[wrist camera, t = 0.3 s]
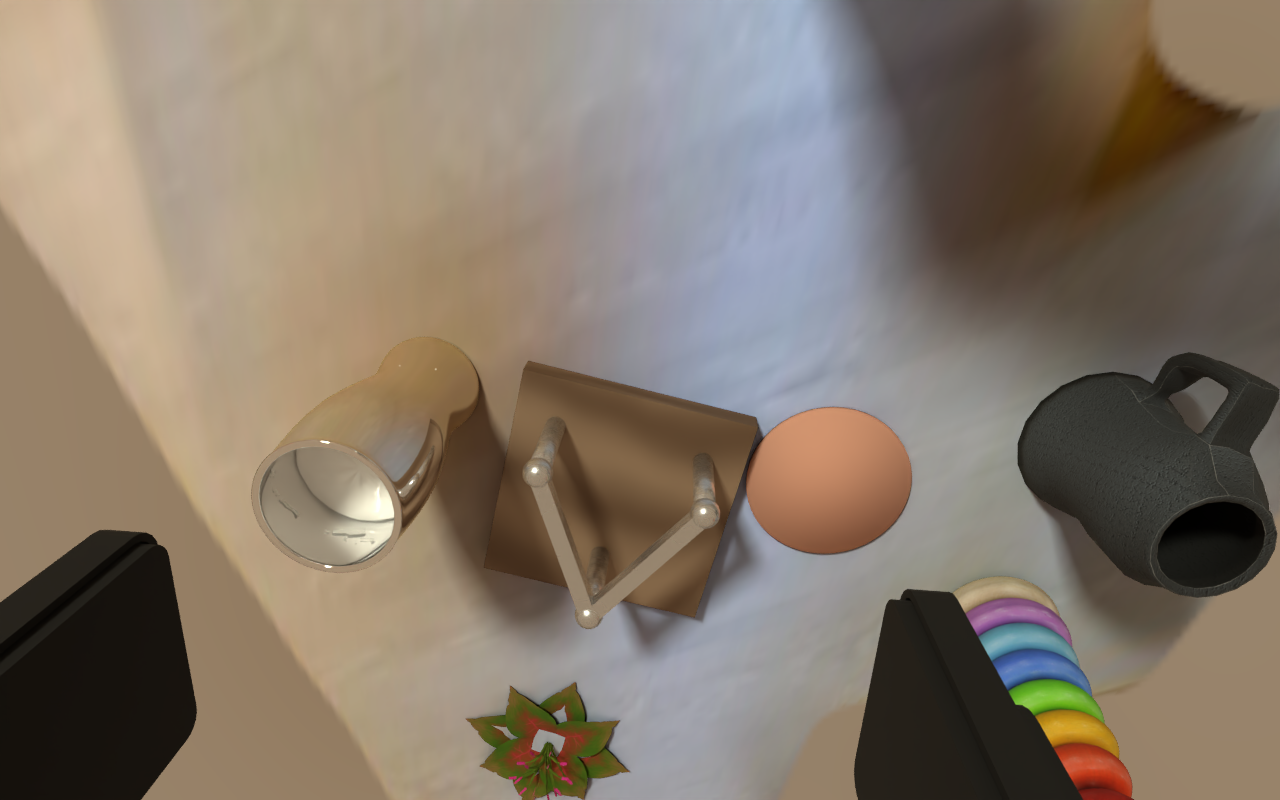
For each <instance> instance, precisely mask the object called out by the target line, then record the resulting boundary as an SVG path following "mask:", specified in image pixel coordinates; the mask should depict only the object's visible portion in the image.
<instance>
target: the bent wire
mask: <svg viewBox="0 0 1280 800" xmlns="http://www.w3.org/2000/svg"><path fill="white" fill-rule="evenodd" d="M565 428H566V425H565V422H564V421H563V420H562V419H561V418H559V417H550V418H549V419H548V420H547V421H546V423H545V426H544V428H543V431H542V433H541V436H540V438H539V441H538V443H537V446H536V448H535V450H534V453H533V455H532V458H531V459H530V460H529V461H528V462H527V463H526V464H525V465H524V467H523V472H522V475H523V479H524V481H525V482H526V483H527V484H528V485H529V486H531V488H532V490H533V493H534V496H535V499H536V501H537V504H538V507H539V509H540V512H541V515H542V518H543V520H544V523H545V526H546V528H547V531H548V534H549V536H550V539H551V542H552V545H553V547H554V550H555V553H556V555H557V558H558V561H559V564H560V566H561V569H562V572H563V574H564V577H565V580H566V582H567V585H568V588H569V591H570V593H571V596H572V599H573V601H574V604H575V607H576V610H575V619H576V621H577V623H578V624H579V625H580V626H581V627H583V628H585V629H593V628H595V627H597V626H598V625H599V624H600V623H601V622H602V619H603V616H604V615H605V614H606V613H608V612H609V611H610V610H611V609H612V608H613V607H615V606H616V605H617V604H618V603H619V602H620V601H622V600H623V599H624V598H625V597H626V596H627V595H628V594H630V593H631V592H632V591H633V590H634V589H635V588H637V587H638V586H639V585H640V584H641V583H642V582H644V581H645V580H646V579H647V578H648V577H649V576H651V575H652V574H653V573H654V572H655V571H656V570H657V569H659V568H660V567H661V566H662V565H663V564H664V563H666V562H667V561H668V560H669V559H670V558H671V557H673V556H674V555H675V554H676V553H677V552H678V551H680V550H681V549H682V548H683V547H684V546H685V545H686V544H688V543H689V542H690V541H691V540H692V539H693V538H695V537H696V536H697V535H698V534H699V533H700V532H702V531H703V530H704V529H707V528H711V527H713V526H714V525H716V524H717V522H718V521H719V518H720V509H719V506H718V505H717V503H716V499H715V485H714V471H713V460H712V457H711V456H710V455H709V454H707V453H699V454H697V455H696V456H695V457H694V458H693V504H692V506H691V508H690V512H689V513H688V514H687V515H685V516H684V517H683V518H682V519H681V520H680V521H679V522H677V523H676V524H675V525H674V526H673V527H672V528H671V529H670V530H668V531H667V532H666V533H665V534H664V535H663V536H662V537H660V538H659V539H658V540H657V541H656V542H655V543H654V544H652V545H651V546H650V547H649V548H648V549H647V550H646V551H644V552H643V553H642V554H641V555H640V556H639V557H638V558H637V559H635V560H634V561H633V562H632V563H631V564H630V565H629V566H627V567H626V568H625V569H624V570H623V571H622V572H621V573H619V574H618V575H617V576H616V577H615V578H614V579H613V580H612V581H610V582H609V583H608V584H607V585H606V586H605V580H606V574H607V567H608V561H609V552H608V550H607V549H606V548H604V547H600V546H599V547H595V548H593V549H592V551H591V553H590V558H589V563H588V568H587V573H585V571H584V568H583V565H582V562H581V560H580V557H579V554H578V551H577V548H576V546H575V543H574V540H573V537H572V534H571V532H570V529H569V526H568V523H567V520H566V518H565V515H564V512H563V509H562V506H561V504H560V501H559V498H558V495H557V492H556V490H555V487H554V484H553V481H552V478H553V468H552V466H553V463H554V460H555V457H556V454H557V451H558V448H559V446H560V443H561V440H562V437H563V434H564V431H565ZM604 586H605V587H604Z"/></svg>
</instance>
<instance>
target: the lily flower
mask: <svg viewBox="0 0 1280 800" xmlns="http://www.w3.org/2000/svg"><path fill="white" fill-rule="evenodd" d="M575 689H576V684H575V683H573V684H572V685H571V686H569V687H567V688H565V689H564V690H562V692H558V693H556V694H555V695H553V696H551V697H550V698H548V699H547V700H545V701H544V702H542V703H541V704H540V706H539V707H537V706H536V705H535V704H533V703H532V702H531V701H529V700H528V699H527V698H525V697H524V696H522V695H520V694H518V693H517V692H516V690H514V689H513V688H512V687H511V686H510V695H509V699H508V702H509V705H508V706H507V709H506V715H500V716H490V717H481V718H478V719H466V720H467V721H469V722H471V725H472V726H473V727H474V729H475V730H478V731H479V732H478V734H479V735H480V736H481V738H482V739H483V740H484V741H485V742H487V743H489V744H490V745H491V746H493V747H495V748H497V749H495V750H494V752H493V753H492V754H491V755H490V756H489V757H488V758H487V759H486V761H485V764H484V763H483V764H482V765H481V766H480V767H483V768H486V769H488V770H490V771H492V772H497V774H498V775H499V776H501V777H503V778H506V779H513V783H514V786H515V788H516V790H517V792H518V794H519V795H521V797H523V798H522V800H533V799H535V797H537V798H539V797H542V796H544V795H546V794H547V796H548V797H547V798H548V800H549V795H548V793H549V792H550V791H551V790H552V791H553V792H555V796H556V797H557V794H558V795H560V796H562V795H565V796H571V797H573V796H578V798H581V799H583V800H584V795H585V791H584V790H586V788H587V777H588V778H604V777H608V776H612V775H616V774H617V773H618V772H622V773H623V772H629V771H628V770H626V769H625V768H624V767H623V766H622V765H621V764H620V763H618V762H617V759H616V758H615V757H614V756H613V755H612V754H611V753H610V752H609V751H607V750H606V749H605V748H604V746H605V744H606V743H607V741H608V739H609V737H610V735H611V733H612V727H615V726H616V724H617V723H618V722H619V721H620V720H619V721H613V722H612V721H608V722H601V723H600V722H584V721H585V713H584V709H583V706H582V703H581V700H580V697H579V694H578V693H577V692H576V691H575ZM564 705H565V713H566V716H567V722H562V723H560V724H558V725H556V722H555V720H554V719H553V718H552V717H551V716H550V715H551V714H553V713H554V712H556V711H558V710H561V709H562V708H563V706H564ZM491 725H493V726H500V727H506V726H507V728H508V730H509V731H510V732H511V733H512V734H513V735H514V736H516V737H518V738H517V739H513V740H510V739H509V738H508V737H506V736H505V735H504V733H503V732H502V731H501V730H499V729H497V728H495V727H493V726H491ZM539 729H541V730H545V731H548V732H552V733H556V734H558V735H561V736H563V737H565V742H564V745H563V748H562V751H561V752H560V754H559V755H558V757H556V755H555V753H554V750H553V745H552V744H551V743H548V742H547V743H546V744H545V745H544V748H543V749H542V751H541V752H537V751H534V750H532V749H531V747H532V743H533V739H534V737H535V735H536V733H537V731H538V730H539ZM551 750H552V753H553V755H554V756H552V754H551ZM577 756H579V757H586V758H578V757H577ZM589 756H590V757H589ZM538 770H539V774H537V775H536V773H537V772H538ZM534 772H535V773H534ZM535 775H536V776H535Z"/></svg>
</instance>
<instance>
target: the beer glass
mask: <svg viewBox="0 0 1280 800" xmlns="http://www.w3.org/2000/svg"><path fill="white" fill-rule="evenodd" d="M478 398H479V380H478V376H477V373H476V371H475V368H474V367H473V365H472V363H471V362H470V360H469V359H468V358H467V356H466V355H465V354H464V353H463V352H462V351H460V350H459V349H458V348H457V347H455V346H454V345H452V344H450V343H448V342H446V341H443V340H441V339H437V338H432V337H416V338H411V339H408V340H405V341H403V342H401V343H399V344H398V345H396V346H395V347H393V348H392V349H391V350H390V351H389V352H388V354H387V355H386V356H385V358H384V359H383V361H382V363H381V365H380V367H379V369H378V371H377V373H376V374H375V375H373V376H371V377H368V378H366V379H364V380H361V381H359V382H357V383H355V384H352V385H350V386H348V387H346V388H344V389H342V390H340V391H339V392H337V393H335V394H333V395H332V396H330V397H328V398H327V399H325V400H324V401H322V402H321V403H320V404H319V405H317V406H316V407H315V408H314V409H312V410H311V411H310V412H309V413H307V414H306V415H305V416H304V417H303V418H302V419H301V420H300V421H299V422H298V423H297V424H296V425H295V426H294V427H293V428H292V429H291V431H290V432H289V433H288V434H287V435H286V436H285V437H284V439H283V440H282V441H281V442H280V443H279V444H278V446H277V447H276V448H275V449H274V451H273V452H272V453H270V454H269V455H268V456H267V457H266V458H265V459H264V460H263V462H262V463H261V464H260V466H259V468H258V469H257V471H256V473H255V476H254V479H253V483H252V490H251V499H252V506H253V510H254V514H255V516H256V519H257V521H258V523H259V525H260V527H261V529H262V530H263V532H264V533H265V535H266V536H267V538H268V539H269V540H270V541H271V542H272V543H273V544H274V545H275V546H276V547H277V548H278V549H279V550H280V551H281V552H283V553H284V554H285V555H287V556H288V557H290V558H291V559H293V560H295V561H296V562H298V563H300V564H303V565H305V566H307V567H310V568H313V569H316V570H320V571H325V572H334V573H346V572H354V571H359V570H362V569H365V568H368V567H370V566H372V565H374V564H376V563H377V562H379V561H380V560H382V559H383V558H384V557H385V556H386V555H387V554H388V553H389V552H390V551H391V550H392V548H393V547H394V545H395V544H396V542H397V541H398V539H399V538H400V537H401V536H402V535H403V533H404V532H405V531H406V530H407V529H408V527H409V526H410V525H411V524H412V522H413V521H414V520H415V518H416V517H417V516H418V514H419V513H420V511H421V510H422V508H423V507H424V505H425V504H426V502H427V501H428V499H429V497H430V495H431V493H432V491H433V490H434V488H435V486H436V484H437V482H438V479H439V476H440V473H441V471H442V468H443V465H444V461H445V457H446V453H447V449H448V445H449V440H450V436H451V433H452V431H453V430H455V429H456V428H457V427H459V426H460V425H461V424H463V423H464V422H465V421H466V420H467V419H468V418H469V417H470V415H471V414H472V413H473V411H474V409H475V407H476V405H477V402H478Z"/></svg>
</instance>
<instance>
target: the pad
mask: <svg viewBox="0 0 1280 800" xmlns="http://www.w3.org/2000/svg"><path fill="white" fill-rule="evenodd" d="M911 480H912V473H911V465H910V461H909V457H908V455H907V452H906V450H905V448H904V446H903V444H902V443H901V441H900V440H899V438H898V437H897V435H896V434H895V433H894V432H893V431H892V430H891V429H890V428H889V427H888V426H887V425H885V424H884V423H883V422H881V421H880V420H878V419H877V418H875V417H873V416H871V415H869V414H867V413H864V412H861V411H858V410H855V409H849V408H842V407H824V408H817V409H811V410H808V411H805V412H801V413H799V414H796V415H794V416H792V417H790V418H788V419H786V420H785V421H783V422H781V423H780V424H778V425H777V426H776V427H775V428H773V429H772V430H771V431H770V432H769V433H768V434H767V435H766V436H765V437H764V438H763V439H762V441H761V442H760V443H759V445H758V446H757V448H756V450H755V451H754V453H753V455H752V458H751V460H750V462H749V466H748V470H747V477H746V491H747V497H748V502H749V505H750V507H751V510H752V512H753V514H754V516H755V518H756V520H757V521H758V522H759V524H760V525H761V526H762V527H763V528H764V529H765V531H766V532H767V533H768V534H770V535H771V536H772V537H774V538H775V539H776V540H778V541H780V542H781V543H783V544H785V545H787V546H789V547H792V548H794V549H798V550H801V551H805V552H811V553H837V552H843V551H847V550H851V549H855V548H857V547H860V546H862V545H864V544H866V543H868V542H870V541H872V540H874V539H875V538H877V537H878V536H880V535H881V534H882V533H884V532H885V531H886V530H887V529H888V528H889V527H890V526H891V525H892V524H893V523H894V522H895V521H896V519H897V518H898V516H899V515H900V514H901V512H902V510H903V508H904V506H905V504H906V502H907V499H908V497H909V494H910V489H911Z"/></svg>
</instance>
